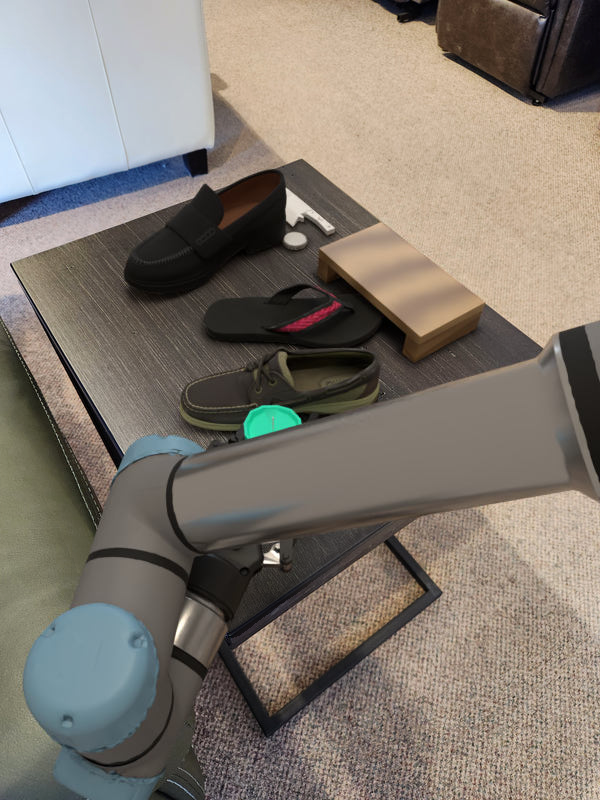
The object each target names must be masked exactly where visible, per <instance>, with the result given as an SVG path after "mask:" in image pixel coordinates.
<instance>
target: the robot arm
mask: <svg viewBox="0 0 600 800" xmlns="http://www.w3.org/2000/svg"><path fill="white" fill-rule="evenodd" d="M264 405H273V398H271V397H268V396H266V398H265V400H264V402H263V404H262V405H261V406H264ZM319 415H320V414H319V413H316V412H313V411H312V413H311V414H309V417H308V419H307V421H306V422H303V423H301V424H299V425H296V426H292V427H289V428H285V429H282V430H278V431H274V432H271V433H267V434H264V435H260V436H257V437H253V438H250V439H246V440H245V434H244V422H245V421H244V422H243V423H242V424H241V426H240V428H239V430H238V431H236V433H235V435H232V436H229V437H228V439H227V441H225V442H223V441H221V440H219V439H216V438H215V439H212V440H211V441H210V443H209V444H208V445H207V447H206V448H204V447H202V446H201V445H199V444H198V443H197V442H195V441H192V440H191V439H189V438H186V437H182V436H179V435H174V434H168V435H167V436H162V435H159V434H157V433H154V434H148V435H145V436H141V437H139V438H137V439H136V440H134V441H133V442H132V443H131V444H130V445H129V446H128V447H127V449H126V451H125V453H124V455H123V457H122V460H121V462H120V464H119V466H118V469H117V471H116V473H115V475H113V477H112V478H111V483H110V486H109V491H108V495H107V498H106V502H105V503H104V506H103V510H102V513H101V516H100V519H99V523H98V525H97V528H96V531H95V534H94V538H93V541H92V543H91V546H90V550H89V552H88V555H87V559H86V561H85V564H84V566H83V569H82V571H81V575H80V577H79V580H78V583H77V585H76V589H75V590H74V591H75V592H74V594H73V597H72V600H71V603H70V606H69V609H68V610H66V611H64V612H63V613H61V614H59V615H58V616H57V617H55V618H54V619H53V620H52V621H51V623H50V624H49V625H48V626H47V627H46V628H45V629H44V630H42V632H41V634H40V635H39V636H38V637H37V638H36V639H35V640H34V642H33V644H32V645H31V647H30V648H29V651H28V654H27V656H26V660H25V663H24V668H23V673H22V691H23V696H24V700H25V704H26V706H27V709H28V710H29V712H30V714H31V716H33V718H34V720H35V722H36V723H38V726H39V727H40V728H41V729H42V730H43V731H44V732H45V733H46V734H47V735H48V736H49V737H50V738H51V740H52V741H53V742H55V743H56V744H58V745H59V746H61V749H60V751H59V753H58V756H57V758H56V760H55V762H54V763H53V769H52V775H53V776H52V777H53V779H54V780H55V781H56V782H57V783H58V784H60V785H61V786H63V787H65V788H66V789H68V790H70V791H71V792H73V793H75V794H77V795H79V796H81V797H83V798H85V799H87V800H149V798H150V797H151V795H152V793H153V792H154V789H155V787H156V786H157V783H158V782H159V780H160V779H162V778H163V776H164V774H165V771H166V769H167V768H166V765H167V763H168V760H169V758H170V756H171V753H173V749H174V747H175V745H176V743H177V740H178V738H179V736H180V734H181V732H182V729H183V728H184V725H185V724H186V721H187V719H188V716H189V715H190V712H191V711H192V707H193V705H194V703H195V701H196V699H197V697H198V695H199V692H200V690H201V688H202V686H203V683H204V681H205V679H206V677H207V675H208V673H209V671H210V668H211V667H212V665H213V662H214V660H215V659H216V656H217V654H218V652H219V651H220V648H221V646H222V644H223V642H224V639H225V638H226V635H227V633H228V630H229V628H228V625H227V623H229V622H230V621H232V620H234V619H235V616H236V614H237V612H238V609H239V607H240V606H241V603H242V601H243V599H244V597H245V595H246V593H247V591H248V588H249V586H250V584H251V582H252V580H253V579H254V577H255V576H257V575H258V574H259V573H261V571H262V570H263V569H264V568H265V569H266V568H268V569H279V571H280V572H282V573H284V574H289V573H290V572H292V568H293V556H294V555H293V554H294V548H295V546H296V545H297V541H298V539H300V538H307V537H310V536H317V535H323V534H329V533H335V532H340V531H341V532H342V531H347V530H351V529H352V530H353V529H357V528H362V527H369V526H375V525H380V524H385V523H392V522H399V521H404V520H409V519H414V518H420V517H425V516H427V517H428V516H432V515H438V514H444V513H449V512H455V511H460V510H466V509H473V508H479V507H485V506H490V505H494V504H496V505H497V504H501V503H508V502H513V501H518V500H523V499H530V498H536V497H543V496H547V495H552V494H559V493H564V492H571V491H574V492H579V493H581V494H583V495H584V496H586V497H588V498H590V500H593V501H595V502H596V503H598V504H600V319H599V320H595V321H593V322H592V321H591V322H588V323H585V324H582V325H578V326H575V327H571V328H569V329H565V330H562V331H557V332H555V333H552V335H551V336H550V338H549V339H548V341H547V343H546V344H545V345H544V347H543V349H542V350H541V352H540V353H539V354H537V356H536V357H533V358H531V359H527V360H523V361H520V362H516V363H513V364H510V365H506V366H502V367H499V368H496V369H495V368H494V369H491V370H488V371H485V372H481V373H477V374H474V375H470V376H467V377H462V378H459V379H456V380H452V381H449V382H446V383H445V382H444V383H442V384H438V385H435V386H430V387H427V388H424V389H421V390H420V389H419V390H416V391H413V392H410V393H407V394H402V395H399V396H395V397H391V398H389V399H388V398H387V399H385V400H382V401H378V402H374V403H373V404H370V405H367V406H363V407H360V408H356V409H353V410H349V411H345V412H342V413H338V414H330V415H328V416H324V417H321V418H319V417H320V416H319ZM271 543H273V545H272V546H271V547H270V550H269V551H268V552H266V553H264V548H263V545H266V544H271Z"/></svg>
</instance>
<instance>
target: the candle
mask: <svg viewBox="0 0 600 800" xmlns="http://www.w3.org/2000/svg"><path fill="white" fill-rule="evenodd" d="M299 424H302V419H301V417H299V415H298V413H295V412H294V411H293V410H292V409H289V408H286V407H282V406H279V405H264V406H260V407H258V408H256V409H254V410H251V411H250V412H249V414H248V416H247V418H246V420H245V422H244V434H245V440H246V439H250V438H253V437H257V436H260V435H264V434H267V433H271V432H274V431H278V430H282V429H285V428H289V427H292V426H296V425H299Z"/></svg>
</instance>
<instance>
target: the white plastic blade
mask: <svg viewBox="0 0 600 800" xmlns="http://www.w3.org/2000/svg"><path fill="white" fill-rule="evenodd" d="M286 194H287V203H286V223H288V224H289V225H290V226H291V227H294V226H296V224H297V223H298V222H301V223H304V221H305V218H306V219H308V220H309V221H310V222H312V223H313V224H315V225H316V226H317V227H318V228H319V229H320V230H321V231H322V232H323V233H324V234H325V235H326V236H329V235H332V234H334V233H336V227H335V226H333V225H332V224H331V223H329V221H327V220H326V219H325V218H324V217H322V216H321V215H320V214H319V213H318V212H316V211H315V210H314V209H313V208H312V207H311V206H309V205H308V203H306V202H304V201H303V199H301V198H300V197H299V196H298V195H296V194H295V193H294V192H292V191H291V190H290V189H289V188H287V187H286Z"/></svg>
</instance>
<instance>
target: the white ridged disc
mask: <svg viewBox="0 0 600 800" xmlns="http://www.w3.org/2000/svg"><path fill="white" fill-rule="evenodd" d="M281 243H282V245H283V246H284V247H285V248H286V249H288V250H292V251H297V250H302V249H305V248H306V247H307V245H308V237H307V236H306V234H304V233H302V232H300V231H290V232H286V235H285V237H284V239H283V240H282V241H281Z"/></svg>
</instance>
